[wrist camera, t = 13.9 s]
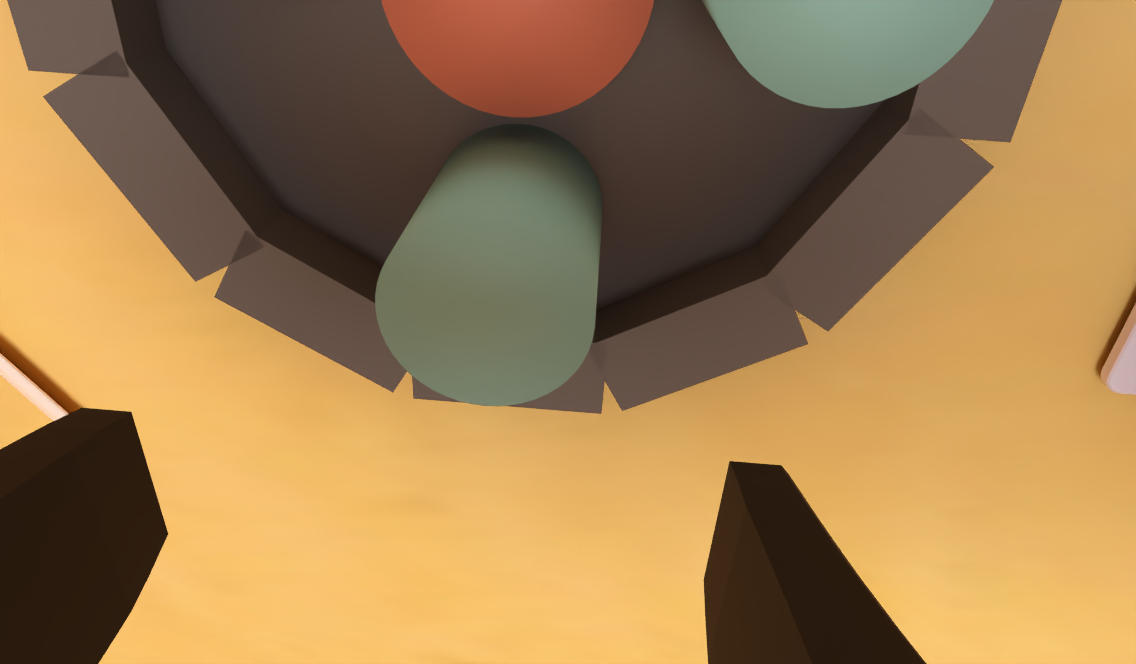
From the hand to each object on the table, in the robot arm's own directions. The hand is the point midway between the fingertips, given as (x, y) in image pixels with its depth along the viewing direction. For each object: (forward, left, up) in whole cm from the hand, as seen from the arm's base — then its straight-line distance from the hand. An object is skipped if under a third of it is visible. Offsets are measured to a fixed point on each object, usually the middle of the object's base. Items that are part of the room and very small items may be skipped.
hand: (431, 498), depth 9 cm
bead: (0, 0, -9) cm, 9 cm away
